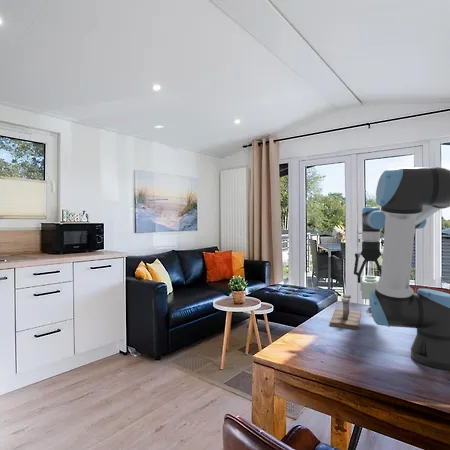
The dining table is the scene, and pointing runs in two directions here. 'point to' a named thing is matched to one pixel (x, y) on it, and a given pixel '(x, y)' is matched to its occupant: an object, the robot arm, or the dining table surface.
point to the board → (348, 322)
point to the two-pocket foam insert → (368, 285)
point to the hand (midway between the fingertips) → (370, 290)
